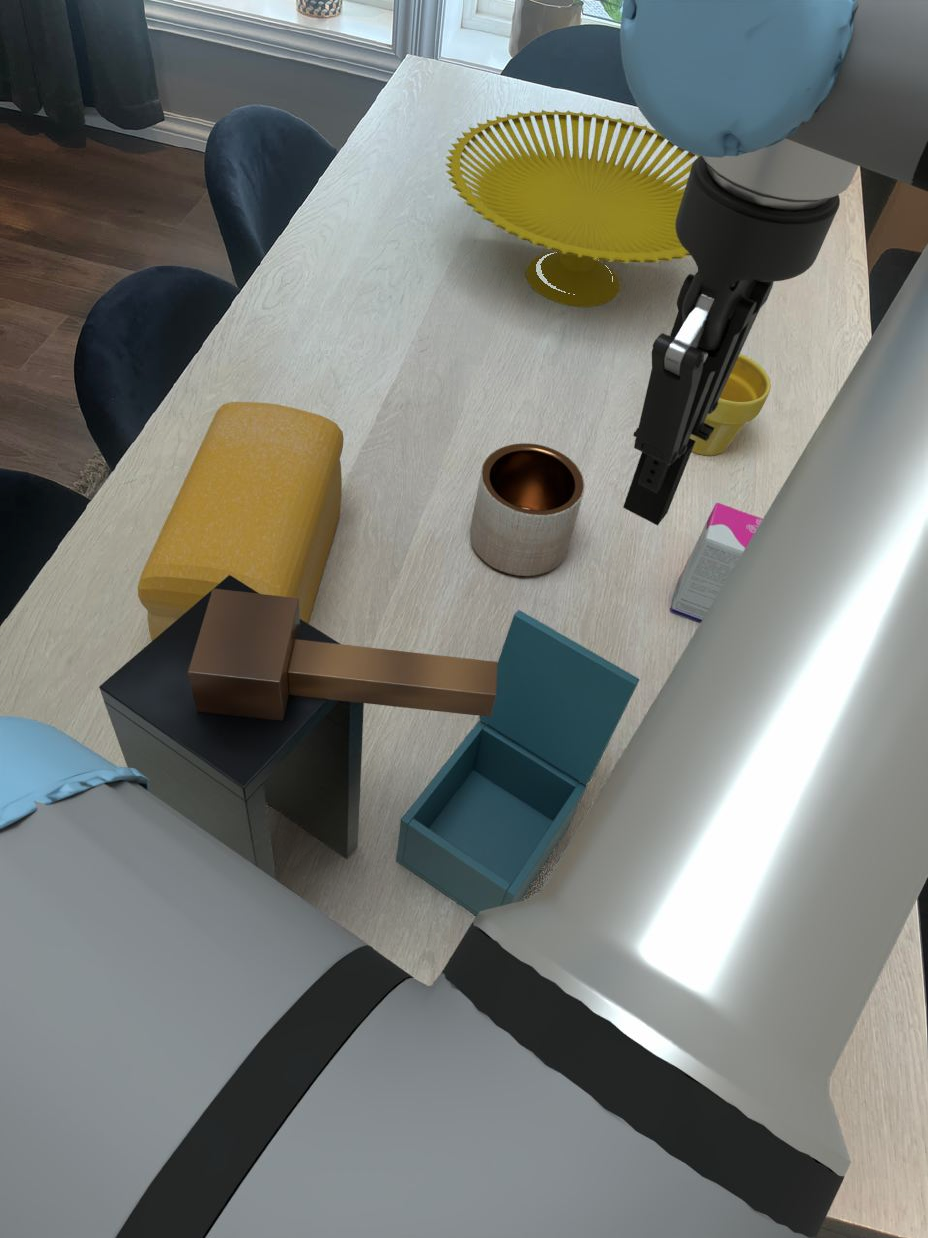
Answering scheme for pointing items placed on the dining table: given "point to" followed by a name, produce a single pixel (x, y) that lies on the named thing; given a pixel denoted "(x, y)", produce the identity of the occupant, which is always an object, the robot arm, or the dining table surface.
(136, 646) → the dining table surface
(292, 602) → the mallet
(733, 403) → the flower pot
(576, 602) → the dining table surface
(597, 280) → the cake stand
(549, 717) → the lid
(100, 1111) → the robot arm
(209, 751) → the black arch block
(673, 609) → the supplement box
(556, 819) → the caddy
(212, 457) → the bread
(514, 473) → the planter
